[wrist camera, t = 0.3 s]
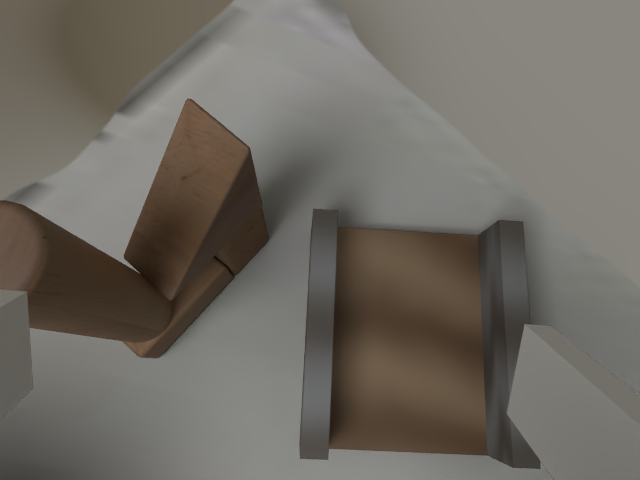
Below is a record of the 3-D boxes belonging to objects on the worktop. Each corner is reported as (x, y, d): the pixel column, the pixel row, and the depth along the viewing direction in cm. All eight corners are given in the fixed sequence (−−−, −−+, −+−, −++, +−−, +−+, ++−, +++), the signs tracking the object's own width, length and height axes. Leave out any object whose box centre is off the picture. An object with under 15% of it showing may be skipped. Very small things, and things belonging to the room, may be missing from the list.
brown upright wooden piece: (271, 239, 32) (242, 93, 15) (158, 360, 30) (-32, 353, 13) (232, 206, 33) (160, 28, 16) (118, 322, 30) (-118, 265, 13)
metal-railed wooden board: (504, 453, 29) (540, 468, 25) (299, 444, 29) (300, 458, 25) (493, 240, 33) (522, 221, 29) (311, 229, 33) (313, 209, 28)
